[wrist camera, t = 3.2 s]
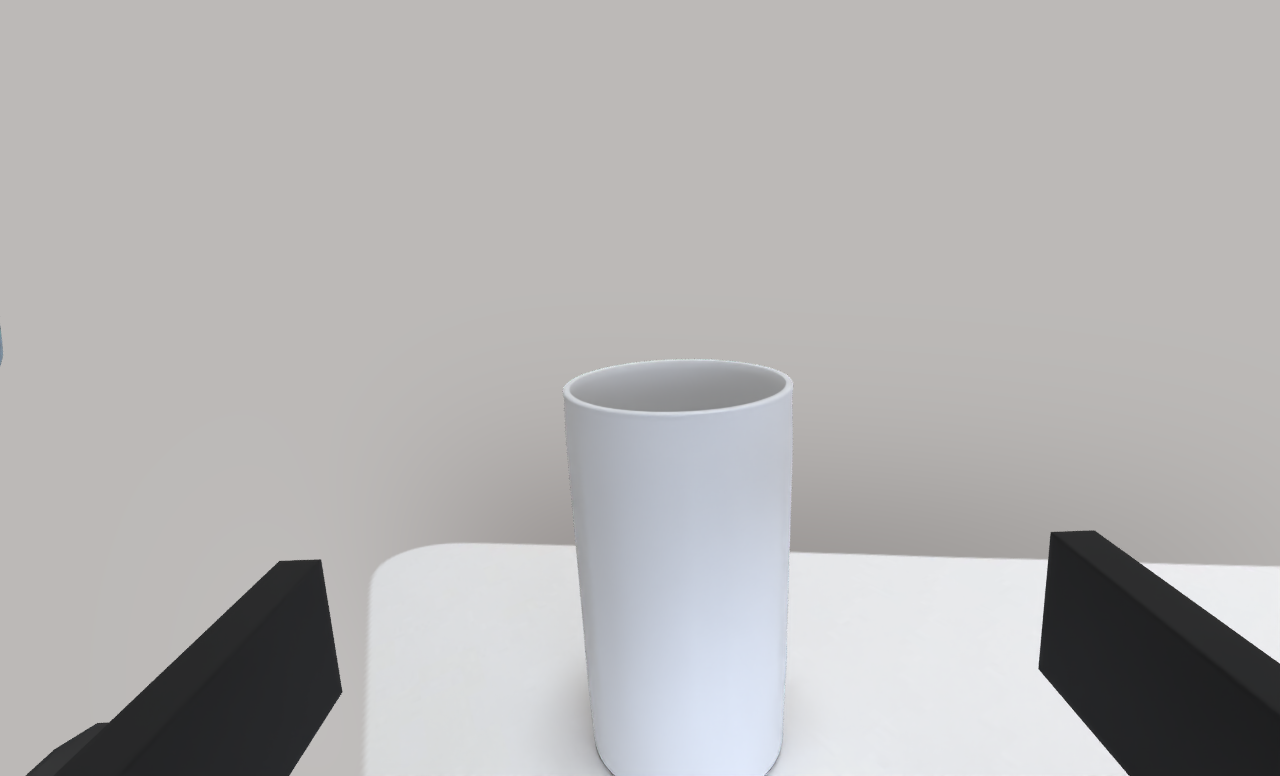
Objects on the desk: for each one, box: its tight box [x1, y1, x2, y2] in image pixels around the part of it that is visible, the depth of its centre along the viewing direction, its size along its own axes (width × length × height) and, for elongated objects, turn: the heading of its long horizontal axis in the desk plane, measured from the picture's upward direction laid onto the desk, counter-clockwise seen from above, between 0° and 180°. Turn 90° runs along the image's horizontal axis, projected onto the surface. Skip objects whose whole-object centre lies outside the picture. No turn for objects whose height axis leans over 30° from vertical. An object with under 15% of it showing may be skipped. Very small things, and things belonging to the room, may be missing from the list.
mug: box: [563, 359, 793, 776], centre depth 25 cm, size 10×7×12 cm, turn 10°
